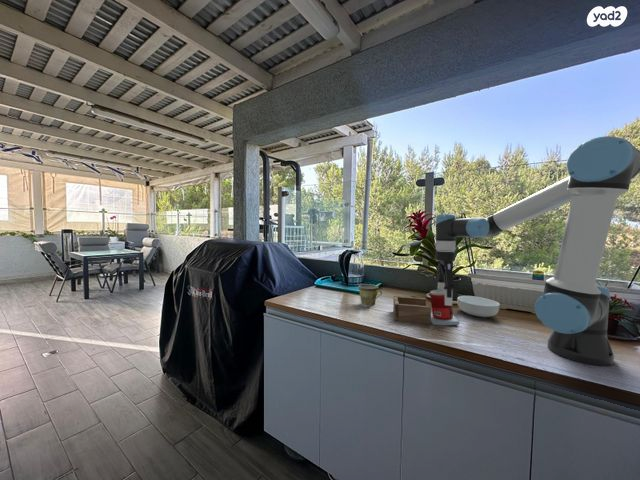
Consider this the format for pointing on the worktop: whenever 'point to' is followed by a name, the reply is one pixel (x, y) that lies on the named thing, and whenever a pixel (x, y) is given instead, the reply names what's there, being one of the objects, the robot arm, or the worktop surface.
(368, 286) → the ceramic cup
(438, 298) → the canned food
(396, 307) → the crate
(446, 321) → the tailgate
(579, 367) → the worktop surface
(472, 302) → the cereal bowl
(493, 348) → the worktop surface
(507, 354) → the worktop surface
